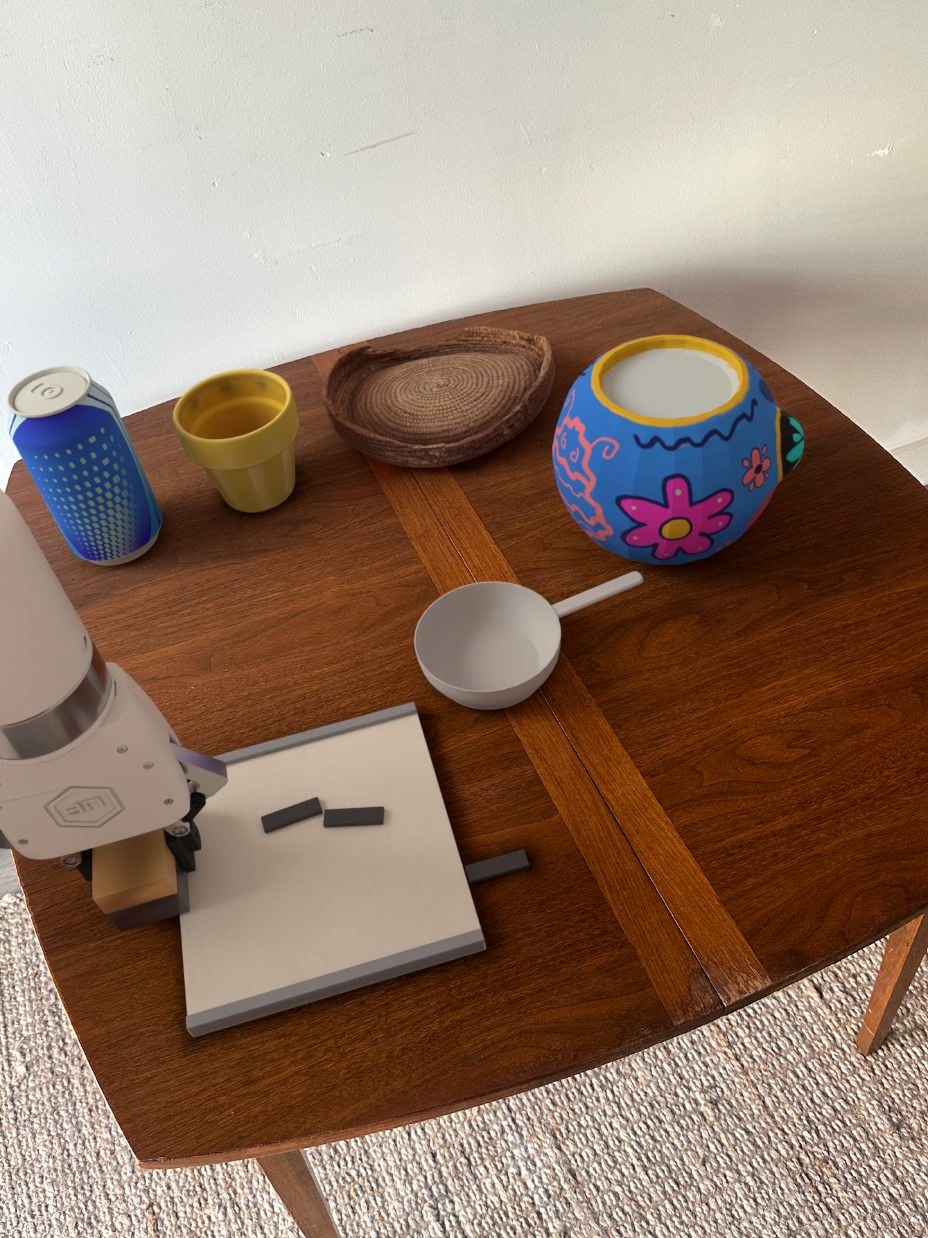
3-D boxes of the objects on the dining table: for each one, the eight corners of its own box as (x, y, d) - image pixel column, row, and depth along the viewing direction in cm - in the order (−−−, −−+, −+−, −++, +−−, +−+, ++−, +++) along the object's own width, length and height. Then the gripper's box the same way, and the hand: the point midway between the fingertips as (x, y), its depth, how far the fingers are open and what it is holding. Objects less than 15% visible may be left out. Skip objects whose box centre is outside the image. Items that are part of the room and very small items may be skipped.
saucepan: (401, 640, 79) (393, 607, 77) (608, 565, 83) (608, 530, 80) (450, 742, 72) (444, 709, 70) (675, 655, 76) (677, 621, 73)
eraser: (119, 933, 64) (92, 899, 60) (116, 827, 69) (91, 790, 66) (190, 912, 64) (166, 877, 61) (182, 808, 70) (159, 771, 66)
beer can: (161, 497, 95) (98, 348, 83) (172, 554, 89) (106, 403, 77) (71, 523, 94) (-6, 375, 82) (77, 583, 88) (-5, 433, 76)
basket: (505, 328, 108) (502, 286, 104) (598, 427, 95) (597, 382, 91) (305, 396, 103) (294, 354, 100) (374, 509, 90) (364, 466, 87)
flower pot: (284, 536, 89) (256, 447, 82) (184, 517, 92) (148, 430, 85) (334, 463, 96) (311, 374, 88) (238, 447, 99) (209, 361, 92)
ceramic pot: (815, 560, 81) (848, 403, 70) (611, 632, 78) (611, 480, 67) (705, 439, 92) (719, 288, 81) (524, 497, 89) (512, 349, 78)
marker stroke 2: (323, 828, 68) (322, 824, 67) (325, 812, 68) (324, 809, 68) (383, 824, 67) (382, 821, 67) (384, 809, 68) (383, 805, 68)
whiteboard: (193, 1038, 60) (186, 1029, 59) (173, 779, 73) (167, 768, 72) (486, 949, 62) (484, 939, 61) (416, 712, 75) (414, 701, 74)
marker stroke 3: (469, 885, 65) (468, 882, 64) (464, 868, 66) (464, 865, 65) (529, 868, 65) (529, 864, 65) (524, 851, 66) (524, 848, 66)
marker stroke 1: (265, 834, 68) (264, 831, 67) (261, 819, 69) (260, 816, 68) (323, 813, 68) (322, 810, 68) (318, 799, 69) (317, 796, 69)
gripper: (-143, 793, 50) (17, 955, 63) (199, 701, 51) (284, 878, 65) (-122, 680, 55) (22, 852, 68) (189, 600, 56) (269, 783, 70)
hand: (148, 863), depth 66 cm, fingers closed on eraser, 4 cm apart
